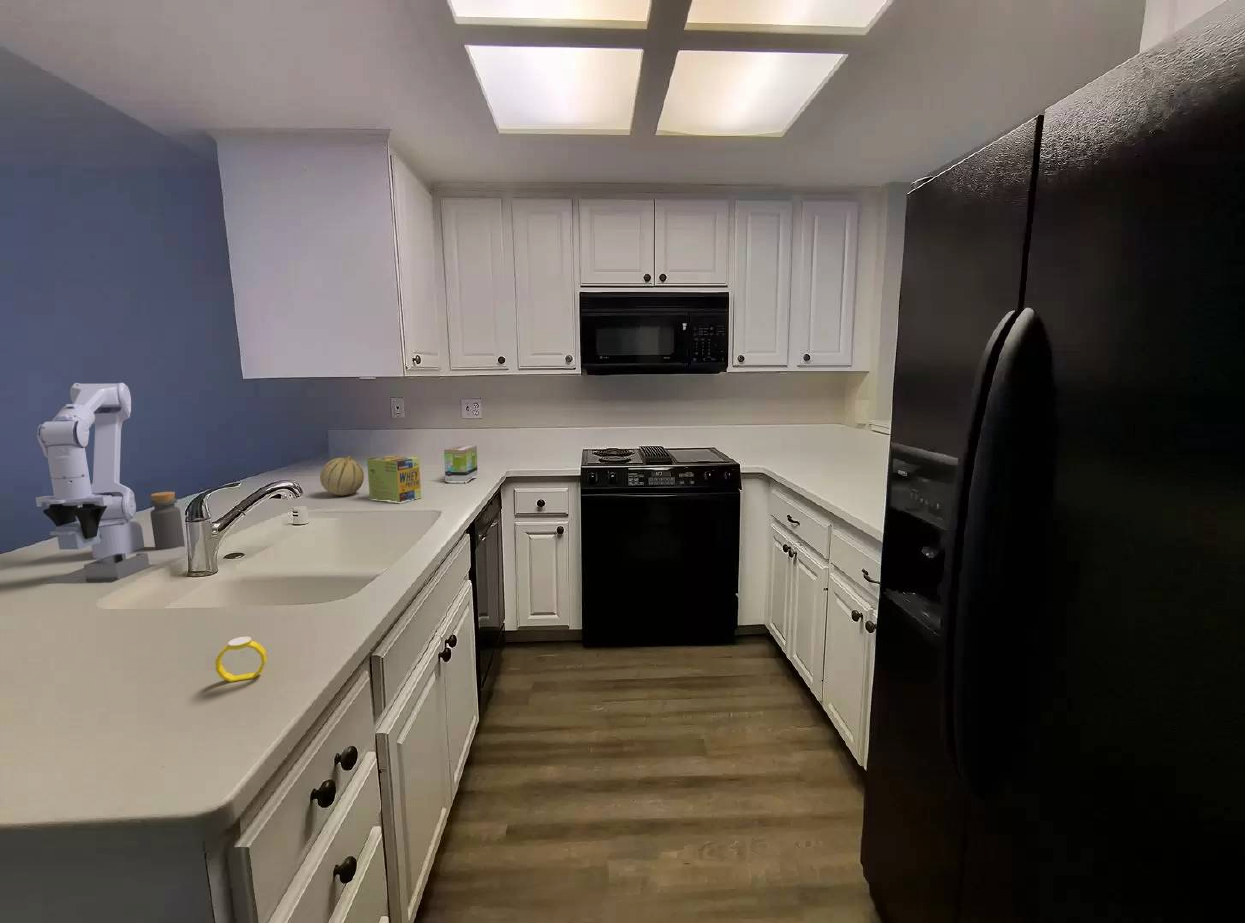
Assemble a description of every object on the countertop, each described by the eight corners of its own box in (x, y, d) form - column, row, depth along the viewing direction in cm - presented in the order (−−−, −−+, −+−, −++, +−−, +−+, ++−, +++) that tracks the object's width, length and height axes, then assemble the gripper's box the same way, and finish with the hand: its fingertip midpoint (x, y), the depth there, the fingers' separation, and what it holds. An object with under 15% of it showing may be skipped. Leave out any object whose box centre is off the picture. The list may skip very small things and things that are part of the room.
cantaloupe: (317, 495, 203) (313, 456, 201) (357, 489, 213) (354, 453, 211) (329, 501, 193) (325, 460, 191) (371, 495, 203) (368, 456, 201)
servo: (90, 540, 120) (86, 518, 119) (107, 540, 120) (104, 518, 119) (53, 551, 112) (49, 528, 112) (71, 551, 112) (68, 528, 112)
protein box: (400, 504, 188) (396, 461, 185) (369, 500, 194) (365, 458, 192) (422, 498, 197) (419, 457, 195) (392, 495, 204) (389, 455, 201)
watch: (269, 671, 80) (268, 634, 79) (263, 681, 77) (262, 642, 76) (221, 676, 78) (219, 638, 77) (214, 686, 75) (212, 647, 74)
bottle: (182, 544, 142) (174, 490, 140) (187, 549, 138) (180, 492, 136) (153, 550, 137) (145, 493, 135) (158, 554, 134) (150, 496, 131)
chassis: (91, 569, 123) (88, 551, 123) (156, 568, 124) (153, 550, 123) (40, 587, 112) (37, 568, 112) (112, 586, 113) (109, 567, 112)
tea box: (468, 483, 225) (466, 449, 223) (444, 483, 225) (442, 449, 223) (478, 477, 240) (476, 445, 238) (456, 477, 240) (454, 445, 238)
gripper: (15, 480, 110) (27, 543, 112) (85, 479, 110) (95, 542, 112) (51, 474, 117) (61, 534, 119) (117, 474, 117) (126, 533, 119)
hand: (80, 537), depth 116 cm, fingers closed on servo, 4 cm apart
